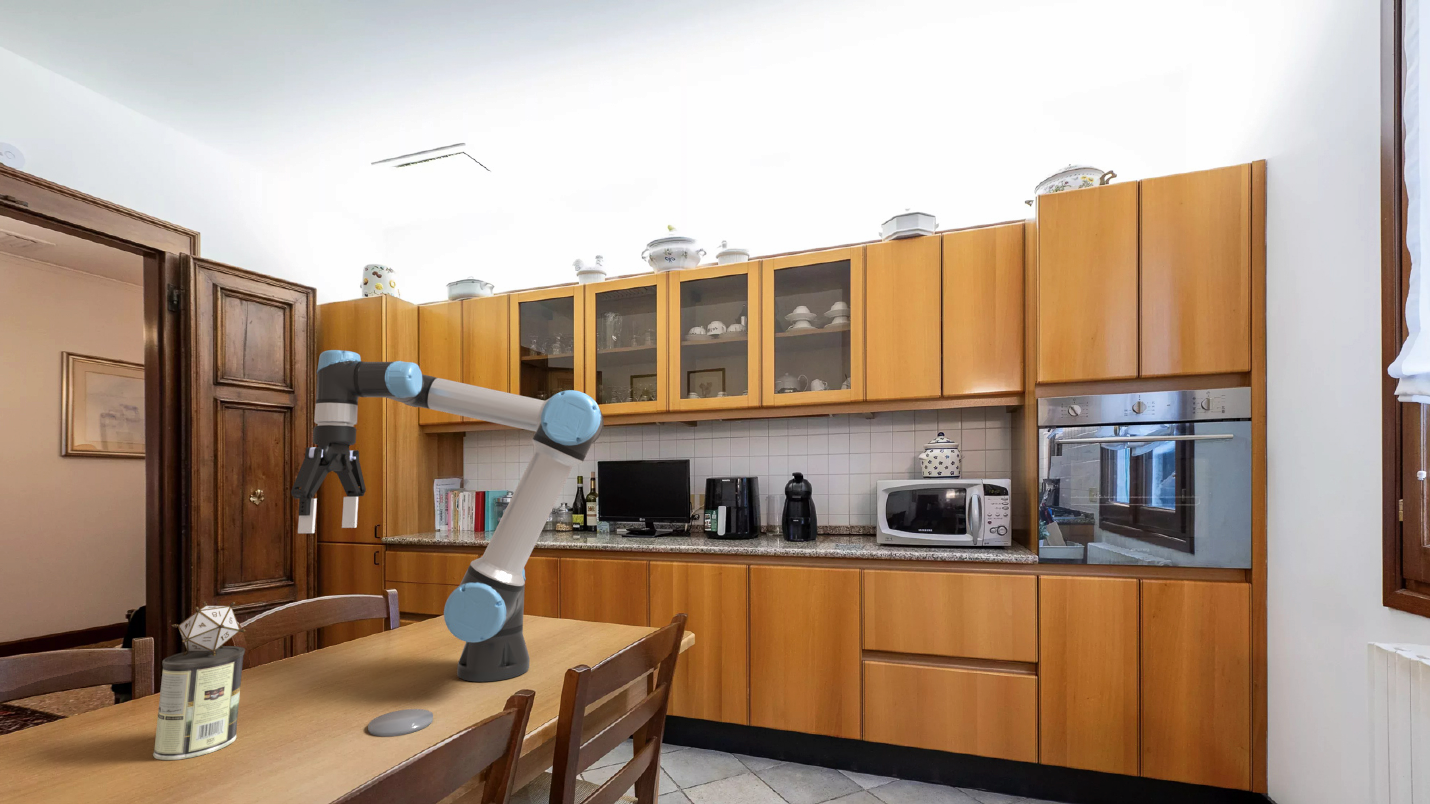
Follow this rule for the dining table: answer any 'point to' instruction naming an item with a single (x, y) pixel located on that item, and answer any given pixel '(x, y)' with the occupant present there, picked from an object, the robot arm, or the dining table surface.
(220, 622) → the game die
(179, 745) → the coffee can
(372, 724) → the slate coaster
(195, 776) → the dining table surface
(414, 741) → the dining table surface
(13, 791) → the dining table surface
